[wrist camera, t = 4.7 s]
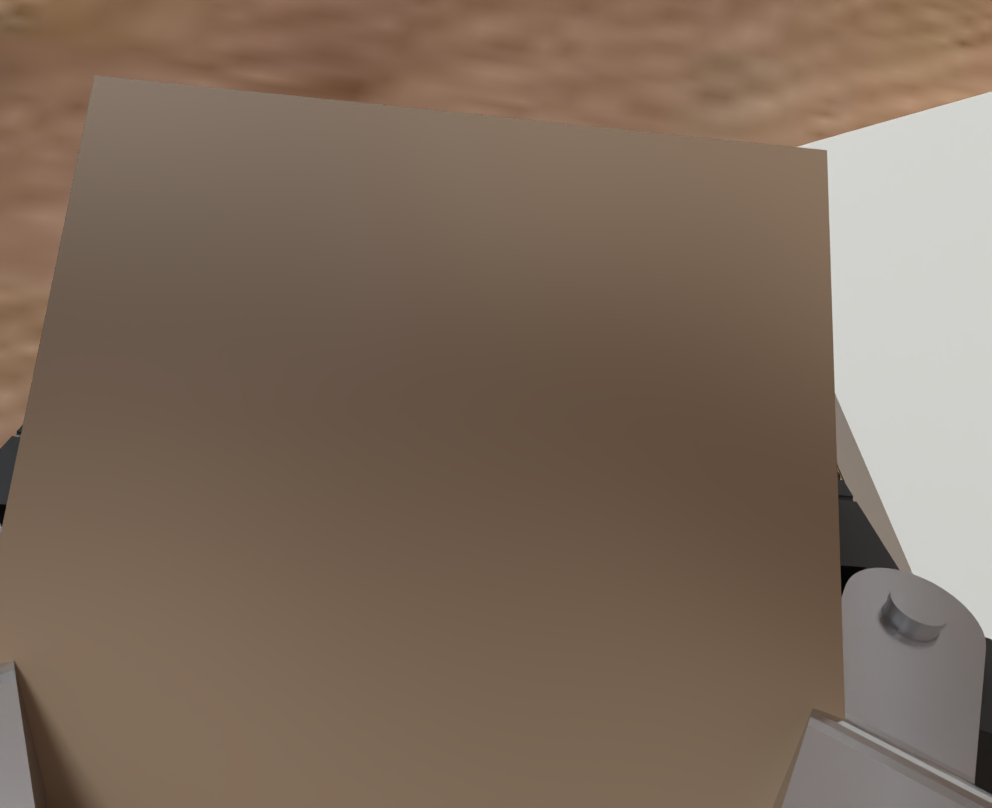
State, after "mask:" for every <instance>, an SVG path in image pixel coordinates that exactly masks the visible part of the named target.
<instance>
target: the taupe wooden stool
mask: <svg viewBox="0 0 992 808" xmlns="http://www.w3.org/2000/svg"><path fill="white" fill-rule="evenodd" d="M11 661H14V663H15V667H16V671H17V675H18V679H19V683H20V687H21V691H22V695H23V699H24V703H25V707H26V711H27V715H28V719H29V724H30V728H31V732H32V736H33V740H34V744H35V748H36V752H37V756H38V760H39V764H40V768H41V772H42V776H43V780H44V784H45V789H46V793H47V794H46V798H47V808H772V807H773V805H774V802H775V800H776V797H777V795H778V792H779V790H780V787H781V785H782V782H783V780H784V778H785V775H786V773H787V770H788V768H789V765H790V763H791V760H792V758H793V755H794V753H795V750H796V748H797V745H798V743H799V740H800V738H801V735H802V733H803V730H804V728H805V725H806V723H807V720H808V718H809V716H810V713H811V711H812V708H814V709H817V710H820V711H823V712H826V713H829V714H831V715H834V716H836V717H839V718H841V719H844V720H845V693H844V662H843V631H842V600H841V568H840V537H839V506H838V475H837V444H836V413H835V382H834V351H833V320H832V289H831V258H830V227H829V196H828V165H827V150H821V149H811V148H801V147H791V146H781V145H771V144H762V143H752V142H742V141H732V140H722V139H713V138H703V137H693V136H683V135H673V134H663V133H654V132H644V131H634V130H624V129H614V128H604V127H595V126H585V125H575V124H565V123H555V122H546V121H536V120H526V119H516V118H506V117H496V116H487V115H477V114H467V113H457V112H447V111H438V110H428V109H418V108H408V107H398V106H388V105H379V104H369V103H359V102H349V101H339V100H330V99H320V98H310V97H300V96H290V95H280V94H271V93H261V92H251V91H241V90H231V89H221V88H212V87H202V86H192V85H182V84H172V83H163V82H153V81H143V80H133V79H123V78H113V77H104V76H95V77H94V82H93V87H92V91H91V96H90V101H89V106H88V111H87V116H86V121H85V125H84V130H83V135H82V140H81V145H80V150H79V155H78V160H77V164H76V169H75V174H74V179H73V184H72V189H71V194H70V198H69V203H68V208H67V213H66V218H65V223H64V228H63V233H62V237H61V242H60V247H59V252H58V257H57V262H56V267H55V271H54V276H53V281H52V286H51V291H50V296H49V301H48V306H47V310H46V315H45V320H44V325H43V330H42V335H41V340H40V344H39V349H38V354H37V359H36V364H35V369H34V374H33V379H32V383H31V388H30V393H29V398H28V403H27V408H26V413H25V417H24V422H23V427H22V432H21V437H20V442H19V447H18V451H17V456H16V461H15V466H14V471H13V476H12V481H11V486H10V490H9V495H8V500H7V505H6V510H5V515H4V520H3V524H2V529H1V534H0V663H6V662H11Z"/></svg>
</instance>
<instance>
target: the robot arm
mask: <svg viewBox="0 0 992 808" xmlns="http://www.w3.org/2000/svg"><path fill="white" fill-rule="evenodd" d="M22 427H23V425H22V426H21V427H20V428H19V429H18V430H17V436H16V437H14V436H12V437H11V438H10V439H9V440H8V441H7V442H6V443H5V444H4V446H3V447H2V448H1V449H0V534H1V529H2V524H3V520H4V515H5V510H6V505H7V500H8V495H9V490H10V486H11V481H12V476H13V471H14V466H15V461H16V456H17V451H18V447H19V442H20V437H21V432H22ZM837 475H838V506H839V537H840V568H841V600H842V631H843V662H844V693H845V720H844V719H841V718H839V717H836V716H834V715H831V714H829V713H826V712H823V711H820V710H817V709H814V708H812V711H811V713H810V716H809V718H808V720H807V723H806V725H805V728H804V730H803V733H802V735H801V738H800V740H799V743H798V745H797V748H796V750H795V753H794V755H793V758H792V760H791V763H790V765H789V768H788V770H787V773H786V775H785V778H784V780H783V782H782V785H781V787H780V790H779V792H778V795H777V797H776V800H775V802H774V805H773V807H772V808H992V639H989V638H986V637H985V636H984V633H983V630H982V628H981V627H980V625H979V623H978V621H977V620H976V619H975V617H974V616H973V614H972V613H971V612H970V611H969V610H968V609H967V608H966V607H965V606H964V605H963V604H962V603H961V602H960V601H959V600H957V599H956V598H955V597H954V596H953V595H951V594H950V593H948V592H947V591H945V590H944V589H942V588H941V587H939V586H937V585H936V584H934V583H932V582H930V581H928V580H926V579H924V578H922V577H919V576H916V575H914V574H911V573H908V572H904V571H900V570H899V568H898V567H897V565H896V563H895V562H894V560H893V559H892V557H891V555H890V554H889V552H888V551H887V549H886V547H885V546H884V544H883V543H882V541H881V539H880V538H879V536H878V535H877V533H876V532H875V530H874V528H873V527H872V525H871V524H870V522H869V520H868V519H867V517H866V516H865V514H864V512H863V511H862V509H861V508H860V506H859V504H858V503H857V502H855V501H853V495H852V493H851V492H850V490H849V488H848V487H847V485H846V484H845V482H844V481H843V480H840V474H839V473H838V471H837ZM46 794H47V793H46V789H45V784H44V780H43V776H42V772H41V768H40V764H39V760H38V756H37V752H36V748H35V744H34V740H33V736H32V732H31V728H30V724H29V719H28V715H27V711H26V707H25V703H24V699H23V695H22V691H21V687H20V683H19V679H18V675H17V671H16V667H15V663H14V661H11V662H6V663H0V808H47V798H46Z"/></svg>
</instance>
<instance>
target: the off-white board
mask: <svg viewBox="0 0 992 808" xmlns="http://www.w3.org/2000/svg"><path fill="white" fill-rule="evenodd" d="M798 147H801V148H811V149H821V150H827V165H828V196H829V227H830V258H831V289H832V320H833V351H834V382H835V413H836V444H837V465H838V467H839V469H840V472H841V474H842V477H843V479H844V481H845V484H846V485H847V487H848V488H849V490H850V492H851V493H852V495H853V501H855V502H857V503H858V504H859V506H860V508H861V509H862V511H863V512H864V514H865V516H866V517H867V519H868V520H869V522H870V524H871V525H872V527H873V528H874V530H875V532H876V533H877V535H878V536H879V538H880V539H881V541H882V543H883V544H884V546H885V547H886V549H887V551H888V552H889V554H890V555H891V557H892V559H893V560H894V562H895V563H896V565H897V567H898V568H899V570H900V571H904V572H908V573H911V574H914V575H916V576H919V577H922V578H924V579H926V580H928V581H930V582H932V583H934V584H936V585H937V586H939V587H941V588H942V589H944V590H945V591H947V592H948V593H950V594H951V595H953V596H954V597H955V598H956V599H957V600H959V601H960V602H961V603H962V604H963V605H964V606H965V607H966V608H967V609H968V610H969V611H970V612H971V613H972V614H973V616H974V617H975V619H976V620H977V621H978V623H979V625H980V627H981V628H982V630H983V633H984V636H985V637H986V638H989V639H992V92H988V93H985V94H981V95H978V96H974V97H971V98H967V99H964V100H960V101H957V102H953V103H950V104H946V105H943V106H939V107H936V108H932V109H929V110H925V111H922V112H918V113H914V114H911V115H907V116H904V117H900V118H897V119H893V120H890V121H886V122H883V123H879V124H876V125H872V126H869V127H865V128H862V129H858V130H855V131H851V132H848V133H844V134H841V135H837V136H834V137H830V138H826V139H823V140H819V141H816V142H812V143H809V144H805V145H802V146H798Z"/></svg>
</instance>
